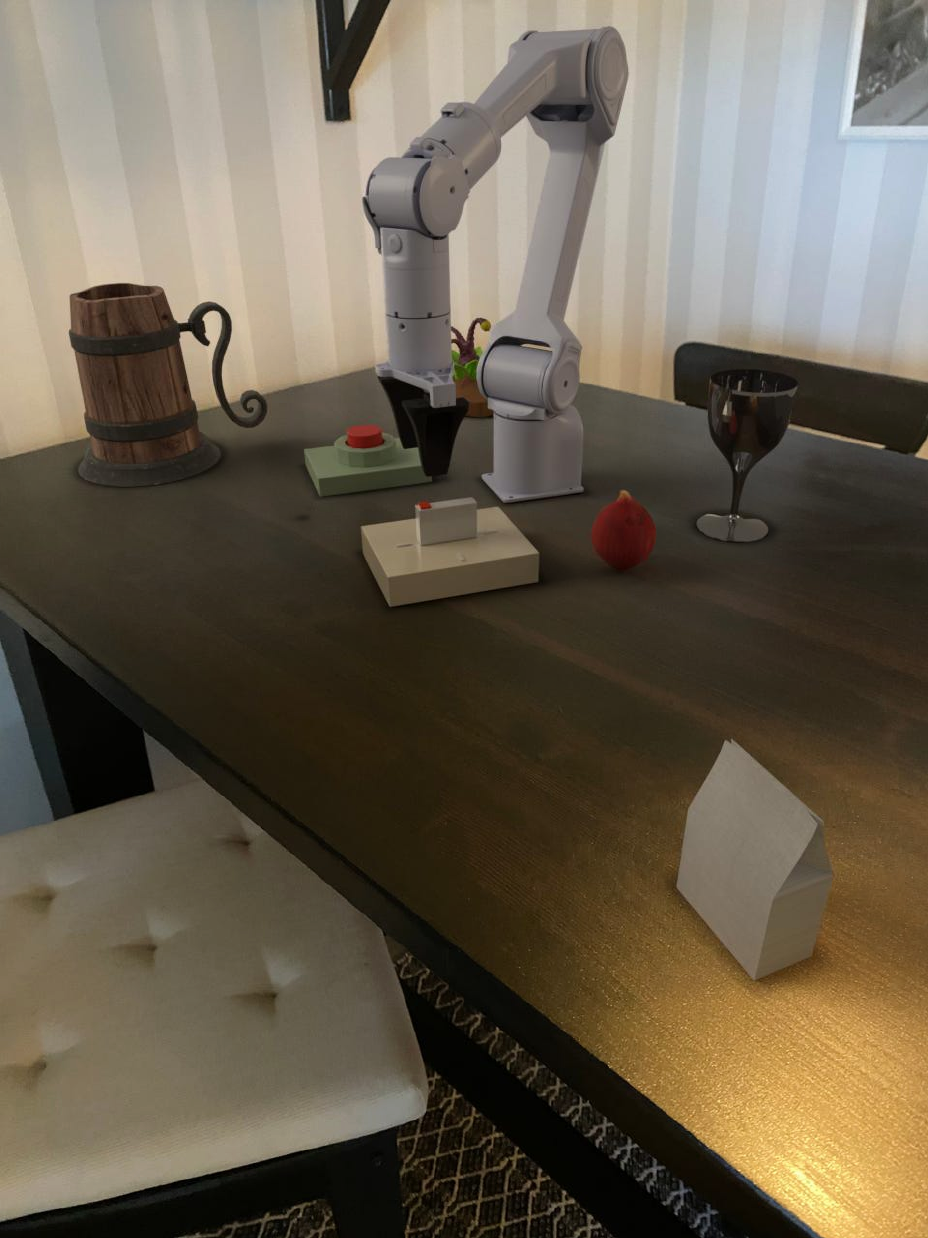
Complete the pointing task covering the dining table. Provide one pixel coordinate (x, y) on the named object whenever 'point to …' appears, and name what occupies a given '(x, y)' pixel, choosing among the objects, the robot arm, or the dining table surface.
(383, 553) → the plate
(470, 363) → the plant
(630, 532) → the onion
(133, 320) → the tankard
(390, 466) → the button block
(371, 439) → the button
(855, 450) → the dining table surface
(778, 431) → the wine glass
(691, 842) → the tea bag
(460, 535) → the switch box
